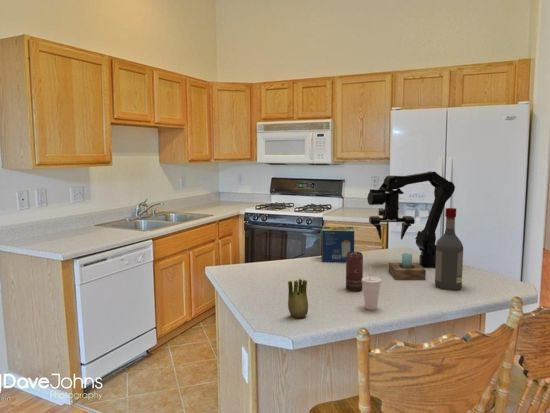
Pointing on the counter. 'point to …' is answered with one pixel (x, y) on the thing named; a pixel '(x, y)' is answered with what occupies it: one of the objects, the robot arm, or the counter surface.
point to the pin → (406, 260)
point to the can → (354, 271)
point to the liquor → (449, 256)
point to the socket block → (407, 272)
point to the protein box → (337, 243)
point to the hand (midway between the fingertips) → (390, 239)
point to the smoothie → (371, 291)
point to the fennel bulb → (297, 299)
